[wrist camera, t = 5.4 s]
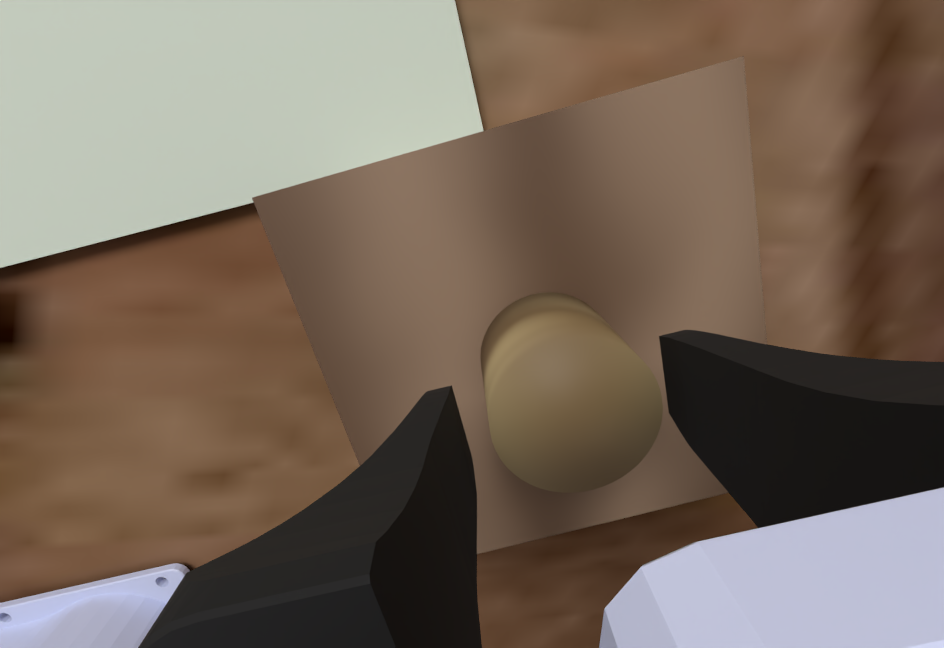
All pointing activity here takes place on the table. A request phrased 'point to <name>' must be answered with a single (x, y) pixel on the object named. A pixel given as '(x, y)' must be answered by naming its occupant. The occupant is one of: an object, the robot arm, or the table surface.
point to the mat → (208, 105)
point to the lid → (538, 293)
